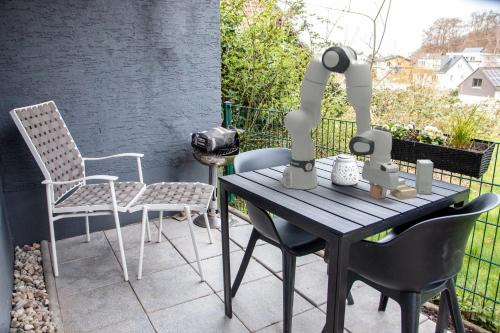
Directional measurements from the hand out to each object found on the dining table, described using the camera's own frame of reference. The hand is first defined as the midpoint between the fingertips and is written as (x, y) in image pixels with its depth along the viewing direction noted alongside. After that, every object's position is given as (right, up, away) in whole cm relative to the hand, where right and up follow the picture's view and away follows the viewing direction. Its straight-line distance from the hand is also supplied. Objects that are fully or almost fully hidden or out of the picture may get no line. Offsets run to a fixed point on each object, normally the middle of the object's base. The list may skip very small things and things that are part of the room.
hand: (377, 193), depth 172 cm
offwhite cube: (+13, +1, +11) cm, 17 cm away
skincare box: (+23, 0, +7) cm, 24 cm away
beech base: (+12, -2, +1) cm, 12 cm away
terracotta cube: (0, -2, 0) cm, 2 cm away
